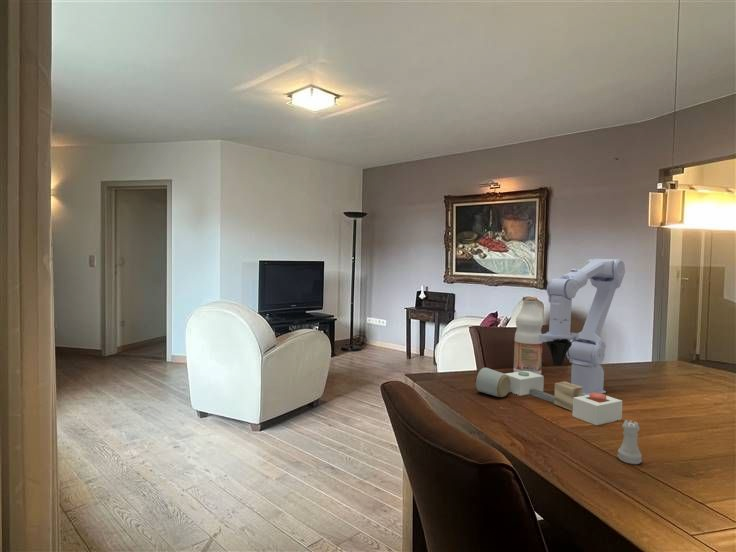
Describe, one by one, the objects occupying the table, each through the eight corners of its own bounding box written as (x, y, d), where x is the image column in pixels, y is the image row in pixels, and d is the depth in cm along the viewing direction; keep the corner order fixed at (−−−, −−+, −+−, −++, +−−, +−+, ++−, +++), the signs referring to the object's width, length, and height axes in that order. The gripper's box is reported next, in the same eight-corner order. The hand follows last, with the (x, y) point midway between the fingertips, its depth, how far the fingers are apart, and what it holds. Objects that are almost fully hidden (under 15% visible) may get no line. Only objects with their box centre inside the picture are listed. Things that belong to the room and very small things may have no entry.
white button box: (526, 385, 143) (526, 368, 143) (543, 391, 137) (543, 374, 137) (503, 389, 139) (503, 371, 139) (519, 395, 133) (520, 377, 132)
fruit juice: (507, 372, 160) (510, 296, 158) (527, 370, 163) (530, 295, 162) (526, 379, 151) (529, 298, 150) (547, 376, 155) (550, 298, 154)
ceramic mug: (498, 400, 128) (499, 374, 127) (474, 393, 134) (475, 369, 133) (517, 394, 135) (518, 369, 135) (493, 388, 141) (494, 364, 141)
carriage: (563, 402, 127) (564, 381, 126) (582, 408, 121) (582, 387, 121) (554, 404, 125) (554, 383, 125) (572, 410, 120) (573, 388, 119)
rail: (534, 393, 135) (534, 388, 135) (586, 412, 119) (586, 407, 119) (530, 394, 134) (530, 389, 134) (581, 413, 118) (581, 408, 118)
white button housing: (597, 410, 121) (597, 393, 120) (621, 419, 114) (622, 400, 114) (572, 416, 116) (573, 397, 116) (596, 425, 110) (597, 405, 110)
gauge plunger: (595, 406, 118) (595, 391, 118) (609, 411, 114) (609, 395, 114) (585, 408, 116) (585, 393, 116) (599, 413, 112) (599, 397, 112)
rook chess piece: (612, 455, 93) (613, 418, 93) (632, 455, 93) (633, 418, 93) (626, 465, 89) (628, 426, 88) (647, 465, 89) (649, 426, 89)
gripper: (565, 316, 136) (563, 360, 136) (531, 317, 129) (529, 363, 129) (585, 319, 129) (583, 365, 130) (551, 321, 123) (548, 369, 123)
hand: (557, 364), depth 129 cm, fingers closed
